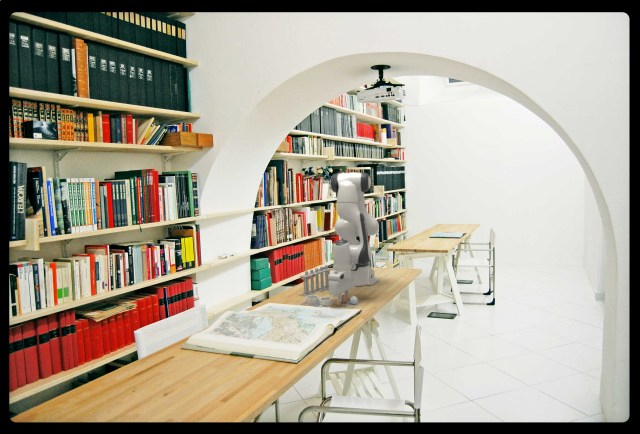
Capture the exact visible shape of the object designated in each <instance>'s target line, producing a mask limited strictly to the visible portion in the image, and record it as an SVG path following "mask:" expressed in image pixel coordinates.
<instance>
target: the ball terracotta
mask: <svg viewBox="0 0 640 434" xmlns="http://www.w3.org/2000/svg"><path fill="white" fill-rule="evenodd" d="M341 297H342V298H343V301H342V302H341V303H345V302H346V301H347V302H348V299H347V297H346V296H345V295H344V294H342V295H341Z"/></svg>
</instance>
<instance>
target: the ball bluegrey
mask: <svg viewBox="0 0 640 434" xmlns="http://www.w3.org/2000/svg"><path fill="white" fill-rule="evenodd" d="M358 300H359V299H358V297H357V296H355V295H352V296H350V297H349V302H350V303H351V304H356V303H359V301H358Z"/></svg>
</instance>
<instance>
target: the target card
mask: <svg viewBox="0 0 640 434" xmlns="http://www.w3.org/2000/svg"><path fill="white" fill-rule="evenodd" d="M335 304H336V302H333V304H332V305H335ZM299 305H301V306H302V305H303V306H309V307H315V308H322V307H326V308H328V307H331V305H328V306H323V305H320V304H319V303H316V304H308V303H306V301H304V302H302V303H300V304H299Z"/></svg>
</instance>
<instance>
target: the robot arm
mask: <svg viewBox="0 0 640 434" xmlns="http://www.w3.org/2000/svg"><path fill="white" fill-rule="evenodd" d="M371 185H372V180H371V177H370V175H369V174H368V173H366V172H355V171H354V172H342V173H339V172H337V173H334V174H332V176H330V181H329V186H330V188H331V191H332V192H333V193H336V195H337V196H336V213H337V215H338V217H339V218H338V219H337V220H336V221H335V224H334V232H335V234H336V235H337V236H338V237H340V238H341V239H337V240H335V241H333V244H332V245H333V246H332V260H333V266H332V268H333V269H332V270H331V271H330V274H329V275H328V279H330V280H328V284H329V289H328V293H329V294H330V296H335V297H336V296H337V300H338V301H337V302H338V303H340V302H342V301H343V298H342V297H341V295H345V296H346V297H347V300H348V299H349V293H350V290H351V289H353V288H355V287H361V286H373V285H374V284H376V283H377V282H378V281H379V279H380V278H379V277H376V274H375V270H374V269H373V268H372V267H371V266H370V263H371V260H372V255H373V254H372V250H371V246H370V241H369V236H375V235H376V234H377V233H378V232H379V228H380V225H379V221H378V220H377V219H376V218H375V217H373V216H371V214H370V213H369V212H368V210H367V208H366V203H365V194H364V193H365V192H368V191H369V190H370V189H371ZM357 237H359V240H358V239H357ZM343 293H344V294H343Z"/></svg>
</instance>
